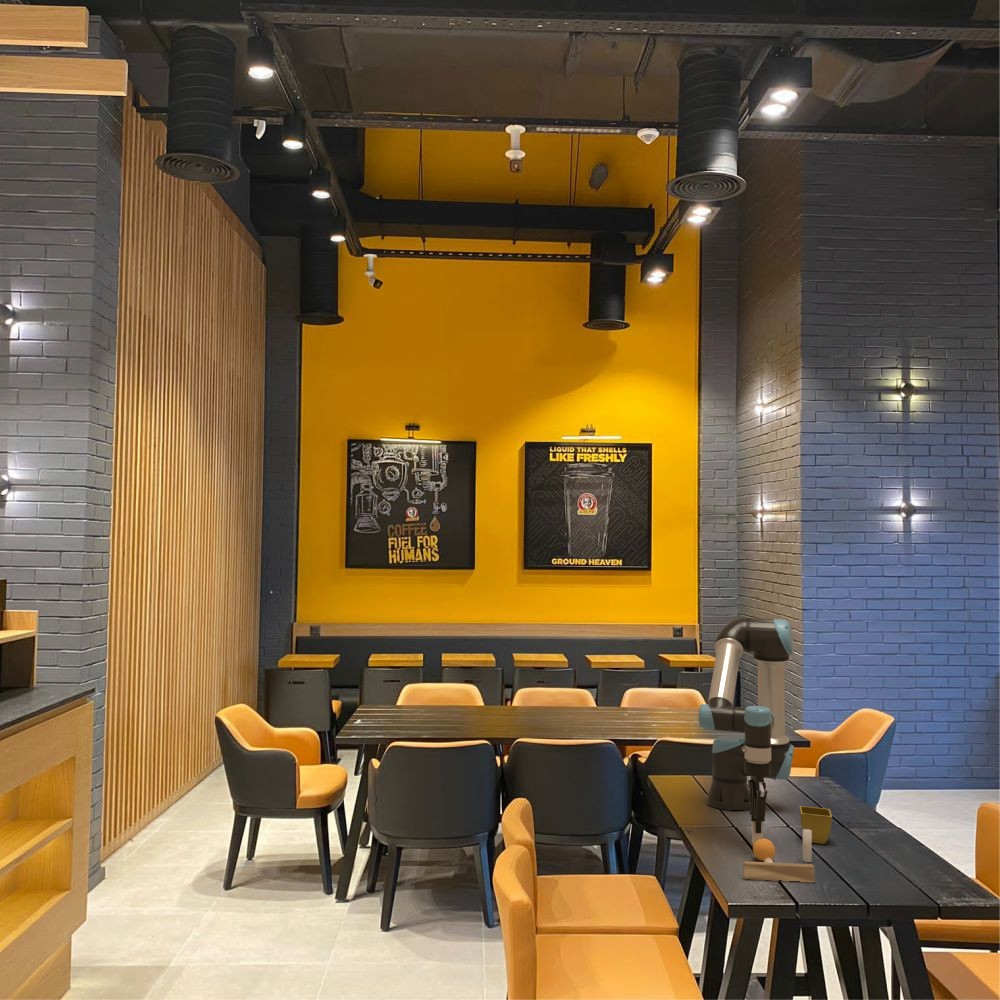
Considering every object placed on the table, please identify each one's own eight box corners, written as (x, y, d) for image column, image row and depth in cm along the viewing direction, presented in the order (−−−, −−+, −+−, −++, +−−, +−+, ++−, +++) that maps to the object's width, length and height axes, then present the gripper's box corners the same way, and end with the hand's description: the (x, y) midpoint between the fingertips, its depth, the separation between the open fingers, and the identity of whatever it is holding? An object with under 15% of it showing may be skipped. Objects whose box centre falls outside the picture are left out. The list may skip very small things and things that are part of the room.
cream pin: (763, 858, 247) (770, 868, 239) (772, 857, 247) (779, 868, 238) (764, 867, 247) (771, 878, 238) (773, 866, 247) (780, 877, 238)
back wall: (743, 876, 238) (743, 861, 238) (812, 879, 237) (812, 864, 238) (745, 879, 236) (745, 864, 236) (814, 882, 235) (814, 866, 236)
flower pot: (829, 838, 274) (829, 808, 274) (832, 847, 265) (832, 816, 266) (799, 835, 276) (799, 805, 277) (800, 844, 268) (800, 813, 268)
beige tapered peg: (801, 859, 253) (801, 828, 254) (810, 860, 253) (810, 829, 254) (804, 862, 251) (804, 831, 251) (812, 862, 251) (812, 831, 251)
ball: (756, 852, 248) (753, 865, 251) (778, 853, 247) (775, 866, 251) (752, 833, 253) (749, 846, 256) (774, 834, 252) (771, 847, 256)
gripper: (739, 755, 269) (739, 835, 267) (749, 765, 256) (749, 850, 254) (765, 756, 269) (764, 836, 267) (776, 766, 256) (776, 851, 254)
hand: (757, 843), depth 261 cm, fingers closed
